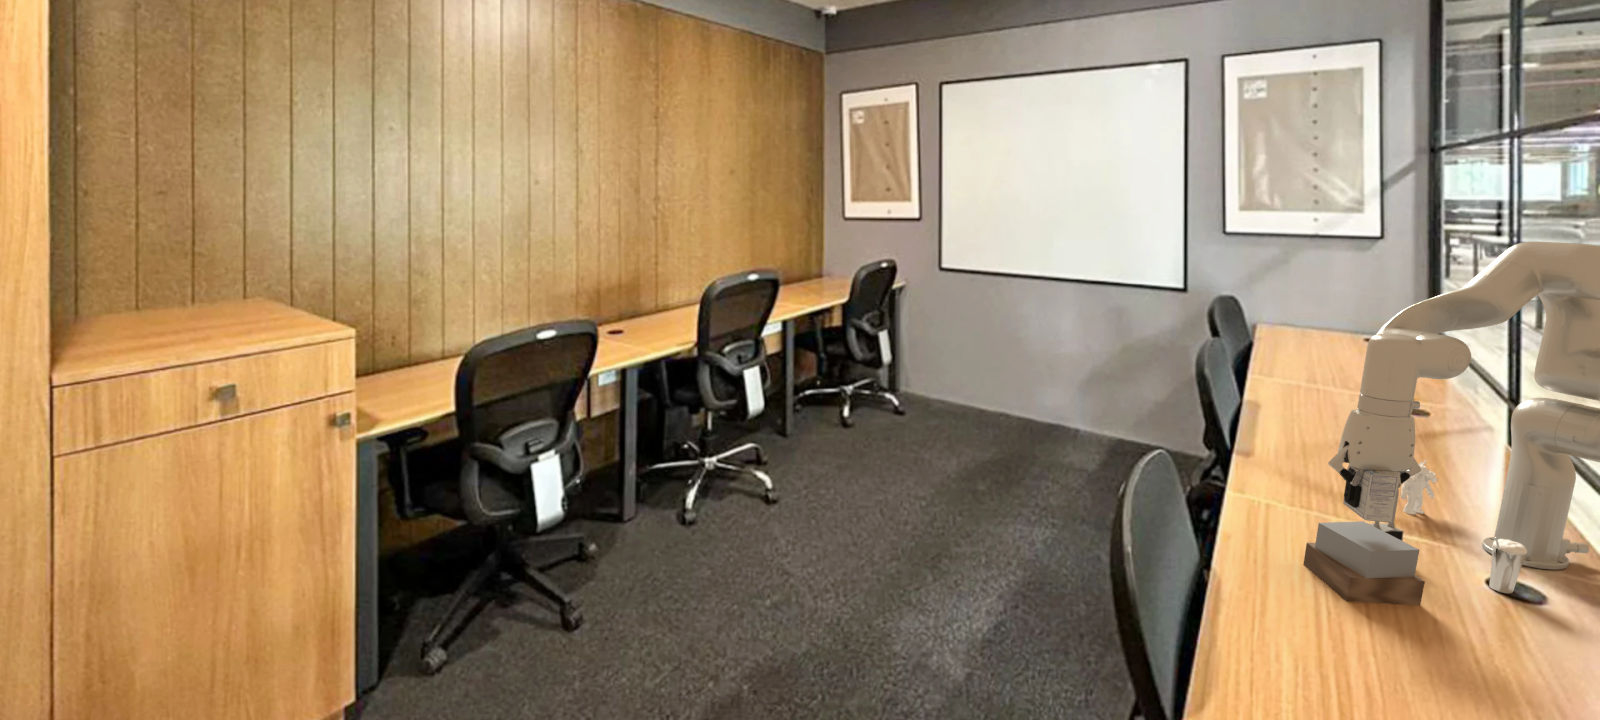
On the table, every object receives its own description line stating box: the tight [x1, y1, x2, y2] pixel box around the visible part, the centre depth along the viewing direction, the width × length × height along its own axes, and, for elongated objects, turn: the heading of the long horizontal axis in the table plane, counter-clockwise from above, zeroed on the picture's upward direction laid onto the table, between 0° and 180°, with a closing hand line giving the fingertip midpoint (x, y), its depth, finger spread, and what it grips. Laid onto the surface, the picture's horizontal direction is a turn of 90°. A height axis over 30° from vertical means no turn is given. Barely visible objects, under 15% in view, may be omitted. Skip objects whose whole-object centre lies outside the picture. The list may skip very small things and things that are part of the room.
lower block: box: [1302, 542, 1426, 607], centre depth 141 cm, size 12×14×5 cm
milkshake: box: [1488, 537, 1527, 594], centre depth 140 cm, size 5×5×10 cm
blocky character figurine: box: [1400, 458, 1439, 516], centre depth 174 cm, size 9×4×12 cm, turn 102°
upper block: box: [1314, 520, 1420, 578], centre depth 140 cm, size 9×12×5 cm
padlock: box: [1369, 488, 1404, 542], centre depth 151 cm, size 7×4×15 cm, turn 101°
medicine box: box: [1343, 470, 1399, 523], centre depth 138 cm, size 8×4×9 cm, turn 168°
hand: (1367, 504), depth 139 cm, fingers closed on medicine box, 4 cm apart
